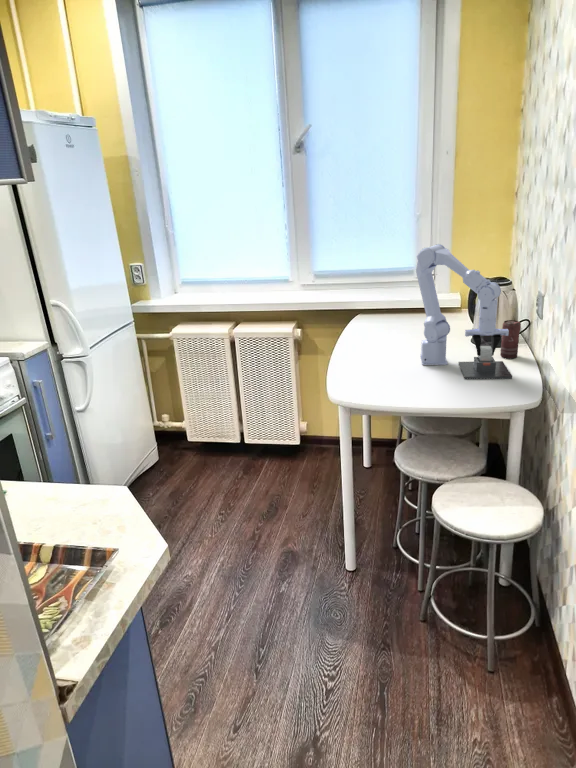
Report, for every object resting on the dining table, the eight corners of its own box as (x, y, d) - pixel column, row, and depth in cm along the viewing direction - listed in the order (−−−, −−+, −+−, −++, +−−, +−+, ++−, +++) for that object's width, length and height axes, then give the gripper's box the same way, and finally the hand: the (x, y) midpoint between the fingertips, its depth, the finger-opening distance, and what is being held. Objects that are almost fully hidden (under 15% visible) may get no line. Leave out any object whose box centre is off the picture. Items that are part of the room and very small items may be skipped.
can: (519, 359, 214) (522, 323, 209) (501, 359, 215) (504, 323, 210) (516, 354, 219) (519, 319, 214) (499, 354, 221) (501, 319, 216)
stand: (464, 379, 198) (465, 367, 197) (458, 364, 213) (458, 353, 212) (511, 379, 196) (513, 366, 194) (502, 363, 211) (503, 352, 209)
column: (479, 369, 202) (480, 349, 200) (477, 365, 206) (478, 345, 204) (491, 369, 202) (492, 349, 199) (489, 365, 206) (490, 345, 203)
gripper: (467, 321, 195) (465, 358, 200) (511, 320, 193) (508, 358, 197) (465, 316, 201) (463, 352, 206) (507, 315, 199) (504, 351, 204)
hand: (485, 354), depth 202 cm, fingers closed on column, 4 cm apart
